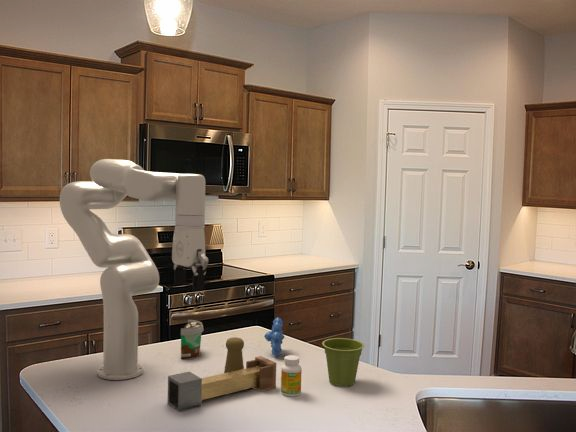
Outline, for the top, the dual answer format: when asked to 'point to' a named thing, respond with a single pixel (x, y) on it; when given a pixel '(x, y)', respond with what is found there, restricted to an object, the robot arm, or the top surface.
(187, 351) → the food container
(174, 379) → the steel sleeve
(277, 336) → the grapes
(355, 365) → the plant pot
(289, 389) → the supplement bottle
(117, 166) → the robot arm
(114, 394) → the top surface
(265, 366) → the walnut socket
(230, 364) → the cork
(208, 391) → the long gold plank
